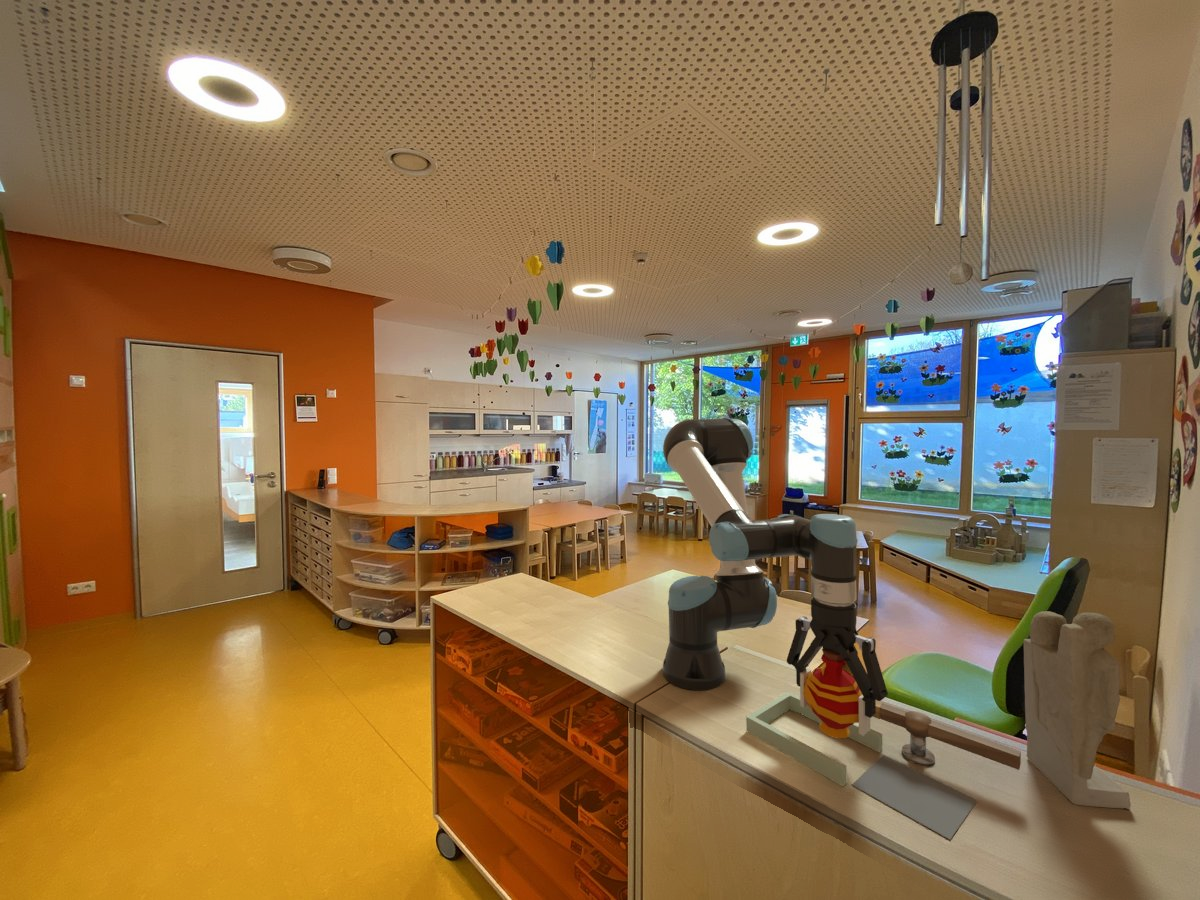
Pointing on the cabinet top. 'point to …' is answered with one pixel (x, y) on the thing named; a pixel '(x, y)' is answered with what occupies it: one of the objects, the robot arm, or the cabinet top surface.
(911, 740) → the metal pivot base
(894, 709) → the turn bar
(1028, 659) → the sculpture
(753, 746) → the cabinet top surface
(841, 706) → the potion bottle
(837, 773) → the channel
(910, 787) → the mat
